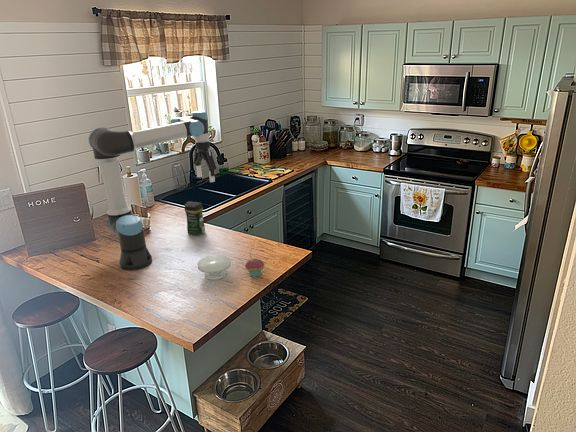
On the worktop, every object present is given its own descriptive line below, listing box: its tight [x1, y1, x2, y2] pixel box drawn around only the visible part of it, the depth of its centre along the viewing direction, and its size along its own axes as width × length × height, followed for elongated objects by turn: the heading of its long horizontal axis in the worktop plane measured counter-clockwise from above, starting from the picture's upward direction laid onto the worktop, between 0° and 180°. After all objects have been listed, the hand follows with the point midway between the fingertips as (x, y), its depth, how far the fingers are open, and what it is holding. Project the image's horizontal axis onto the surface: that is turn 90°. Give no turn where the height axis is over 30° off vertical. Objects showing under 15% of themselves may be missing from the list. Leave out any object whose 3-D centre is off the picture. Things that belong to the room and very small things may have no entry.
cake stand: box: [197, 254, 232, 281], centre depth 200 cm, size 15×15×6 cm
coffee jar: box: [184, 201, 206, 236], centre depth 244 cm, size 10×8×19 cm
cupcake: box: [245, 250, 265, 277], centre depth 198 cm, size 9×8×12 cm
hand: (205, 179), depth 240 cm, fingers open, 13 cm apart
